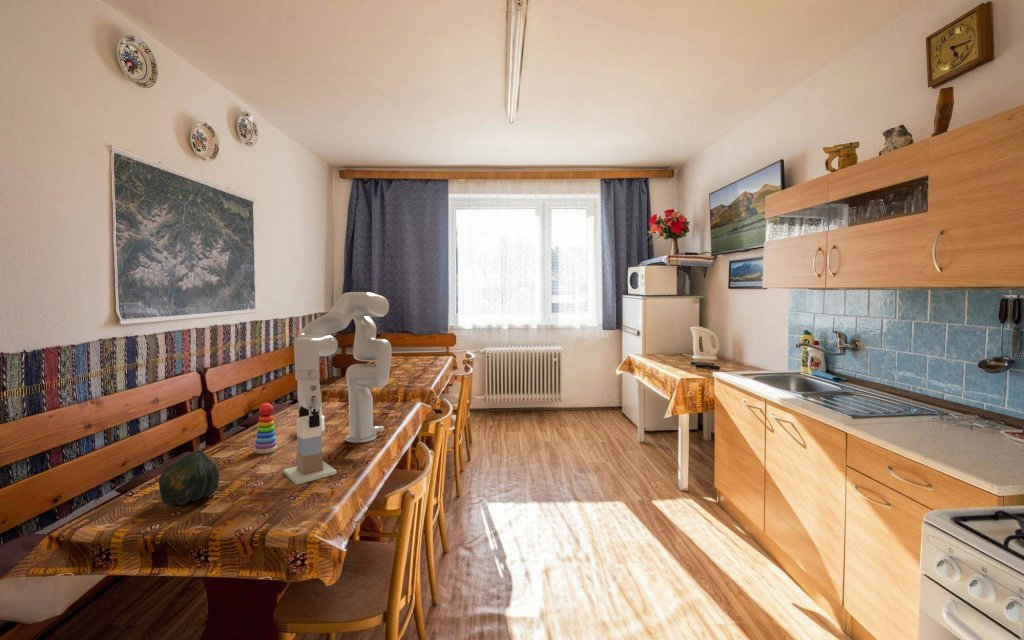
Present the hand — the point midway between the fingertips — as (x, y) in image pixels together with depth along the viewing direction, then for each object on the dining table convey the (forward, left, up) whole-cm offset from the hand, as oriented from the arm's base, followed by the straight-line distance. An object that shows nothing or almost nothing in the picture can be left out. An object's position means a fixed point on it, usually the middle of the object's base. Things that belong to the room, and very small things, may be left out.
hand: (309, 423), depth 155 cm
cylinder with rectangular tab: (-17, -48, -17) cm, 54 cm away
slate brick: (+1, +1, -10) cm, 10 cm away
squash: (+34, -3, -17) cm, 38 cm away
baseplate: (+1, +1, -17) cm, 17 cm away
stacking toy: (+6, -33, -17) cm, 37 cm away
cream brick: (+1, +1, -4) cm, 4 cm away
